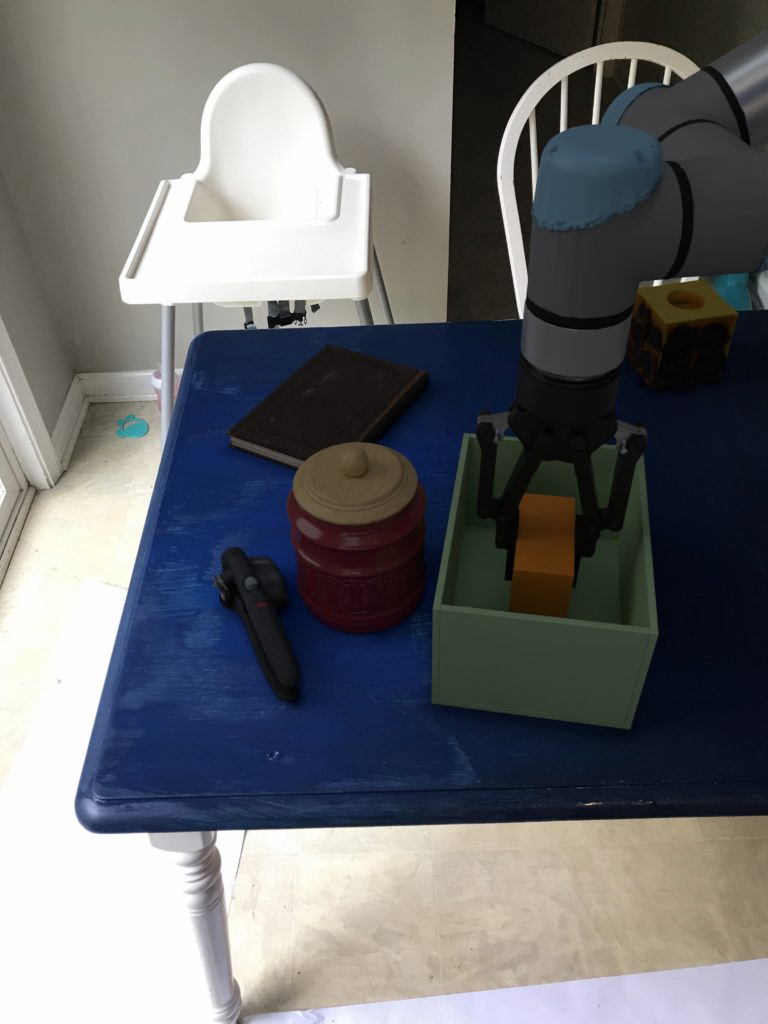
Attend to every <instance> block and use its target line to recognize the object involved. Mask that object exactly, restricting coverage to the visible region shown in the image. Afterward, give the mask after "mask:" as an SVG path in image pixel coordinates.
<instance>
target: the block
mask: <svg viewBox="0 0 768 1024" xmlns="http://www.w3.org/2000/svg"><path fill="white" fill-rule="evenodd" d="M519 509H520V515H519V527H518V537H517V541H516V550H515V559H514V568H513V577H512V586H511V598H510V609H509V612H514V613H523V614H532V615H540V616H549V617H558V618H567V612H568V607H569V601H570V596H571V590H572V585H573V579H574V555H575V546H574V525H575V498H571V497H561V496H550V495H539V494H529V493H525V494H524V496H523V498H522V500H521V502H520V504H519Z"/></svg>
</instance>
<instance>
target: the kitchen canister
mask: <svg viewBox="0 0 768 1024" xmlns="http://www.w3.org/2000/svg"><path fill="white" fill-rule="evenodd" d="M427 505H428V496H427V492H426V488H425V487H424V485H423V483H422V481H421V480H420V479H419V477H418V473H417V471H416V468H415V467H414V465H413V464H412V462H411V461H410V460H409V459H408V458H407V457H406V456H405V455H403V454H402V453H400V452H399V451H397V450H395V449H393V448H391V447H388V446H385V445H381V444H378V443H374V444H372V443H363V442H352V443H344V444H340V445H335V446H332V447H329V448H326V449H323V450H321V451H319V452H317V453H315V454H314V455H312V456H311V457H309V458H308V459H307V460H306V461H305V462H304V463H303V464H302V465H301V466H300V467H299V469H298V470H296V472H295V474H294V477H293V481H292V486H291V488H290V490H289V491H288V495H287V498H286V505H285V506H286V515H287V519H288V520H289V522H290V529H289V531H290V533H289V537H290V541H291V545H292V548H293V550H294V556H295V563H296V583H297V590H298V594H299V595H300V598H301V600H302V601H303V605H304V606H305V608H306V609H307V611H308V612H309V614H310V615H311V616H313V617H314V619H315V620H317V621H319V622H320V623H321V624H323V625H324V626H327V627H328V628H331V629H334V630H337V631H340V632H345V633H352V634H368V633H375V632H379V631H383V630H387V629H388V628H391V627H394V626H396V625H397V624H398V625H399V623H401V622H402V621H403V620H405V619H406V618H408V617H409V616H410V615H412V613H413V612H414V611H415V610H416V608H417V607H418V606H419V604H420V602H421V600H422V597H423V594H424V591H425V588H426V583H427V564H426V561H425V559H426V558H425V557H426V556H425V555H426V551H425V550H426V548H425V547H426V546H425V545H426V535H427V527H428V526H427V520H426V516H425V513H426V510H427V507H428V506H427Z"/></svg>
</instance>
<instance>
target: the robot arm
mask: <svg viewBox="0 0 768 1024" xmlns="http://www.w3.org/2000/svg"><path fill="white" fill-rule="evenodd" d="M767 146H768V28H766V29H763V31H761V32H760V33H758V34H756V35H755V36H753V37H751V38H750V39H748V40H745V42H743V43H741V44H740V45H738V46H736V47H735V48H732V50H730V51H729V52H727V53H725V54H724V55H722V56H721V57H719V58H717V59H715V60H714V61H712V62H711V63H709V64H707V65H706V66H704V67H703V68H700V69H699V70H697V71H696V72H694V73H692V74H691V75H689V76H687V77H686V78H684V79H683V80H681V81H679V82H678V83H675V84H674V85H670V84H665V83H661V82H652V81H651V82H650V81H649V82H644V83H638V84H636V85H635V84H634V85H632V86H631V87H628V88H627V89H625V90H624V91H622V92H620V94H619V95H617V97H615V99H614V100H613V101H612V102H611V104H609V105H608V107H607V109H606V111H605V112H604V115H603V116H602V118H601V121H600V123H594V124H583V125H577V126H573V127H570V128H567V129H564V130H563V131H560V132H558V133H557V134H555V135H554V136H553V137H552V138H550V140H548V142H547V143H546V144H545V146H544V148H543V150H542V153H541V155H540V162H539V167H538V170H537V177H536V183H535V190H534V196H533V200H532V204H531V208H530V209H531V210H530V214H531V229H530V230H531V231H530V245H529V258H528V271H527V272H528V273H527V274H528V275H527V286H526V293H525V300H524V305H523V315H522V317H523V318H522V325H521V326H522V327H521V335H520V337H521V338H520V352H521V353H520V356H519V360H518V369H517V380H516V390H515V398H514V401H512V403H511V404H510V406H509V407H508V411H503V412H498V413H493V412H492V411H491V410H489V409H481V410H480V411H479V412H478V414H477V417H476V418H477V420H476V426H475V430H474V431H475V432H474V434H476V437H477V440H478V443H479V445H480V448H481V463H480V475H479V488H478V500H477V516H478V517H479V518H481V519H487V518H491V519H493V520H494V521H495V522H496V537H495V546H496V548H499V549H507V558H506V568H505V578H504V580H507V581H512V577H513V568H514V559H515V550H516V541H517V537H518V527H519V515H520V509H518V506H519V504H520V502H521V500H522V498H523V496H524V494H525V492H526V490H527V487H528V485H529V483H530V481H531V479H532V477H533V475H534V473H535V472H536V471H537V470H538V467H539V465H540V463H541V461H555V460H558V461H561V462H565V463H571V464H573V465H574V470H575V476H576V478H577V484H578V490H579V496H580V502H581V507H582V513H583V515H576V519H575V525H574V546H575V555H574V579H573V585H572V588H575V587H576V582H577V576H578V571H579V566H580V560H581V557H588V558H591V557H592V556H593V555H594V553H595V548H596V543H597V540H598V539H599V538H600V532H601V531H602V530H605V529H609V530H611V531H613V532H618V531H620V530H621V529H622V528H623V524H624V519H625V514H626V509H627V505H628V500H629V495H630V490H631V486H632V481H633V476H634V471H635V467H636V463H637V462H638V460H639V459H640V458H641V456H642V455H643V453H644V454H645V452H646V451H647V449H648V448H649V443H648V441H649V439H648V430H647V425H646V423H645V422H643V421H641V420H639V421H634V422H632V423H631V424H630V423H627V422H625V421H622V420H619V418H618V414H617V411H616V409H615V408H616V403H617V397H618V391H619V388H620V387H619V386H620V383H621V376H622V372H623V363H622V362H624V359H625V357H624V356H625V352H626V346H627V341H628V335H629V330H630V324H631V319H632V313H633V309H634V305H635V300H636V295H637V291H638V288H640V283H642V282H651V281H664V280H665V281H666V280H670V279H680V278H681V279H683V278H698V277H711V276H725V275H726V276H727V275H739V274H754V275H758V274H763V272H766V271H768V151H767V152H765V151H760V150H762V149H764V148H766V147H767ZM508 429H510V430H511V431H512V433H513V434H514V435H515V437H517V438H518V439H519V441H520V442H521V443H522V444H523V449H522V452H521V454H520V456H519V458H518V461H517V463H516V465H515V467H514V470H513V472H512V474H511V476H510V478H509V481H508V483H507V485H506V487H505V490H504V492H503V494H502V496H500V499H497V498H495V497H493V488H494V477H495V467H496V456H497V446H498V443H499V442H500V441H501V440H502V439H503V438H504V436H505V432H506V431H507V430H508ZM612 438H615V445H616V448H617V450H618V455H617V460H616V465H615V470H614V476H613V481H612V486H611V492H610V497H609V502H608V507H607V508H601V509H599V504H598V497H597V491H596V484H595V478H594V471H593V465H592V458H591V454H592V453H593V452H594V451H596V450H597V449H598V448H599V447H601V446H602V445H603V444H606V443H607V442H608V441H609V440H611V439H612Z"/></svg>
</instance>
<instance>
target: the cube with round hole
mask: <svg viewBox="0 0 768 1024" xmlns="http://www.w3.org/2000/svg"><path fill="white" fill-rule="evenodd" d="M739 315H740V313H739V312H738V311H737V310H736V309H735V307H733V306H732V305H731V304H730V303H728V301H726V300H725V299H724V298H723V297H722V296H720V295H719V293H717V292H716V291H715V290H714V289H713V288H712V287H711V286H710V285H709V284H708V283H707V282H706V281H705V280H704V279H703V280H702V279H694V280H688V281H682V282H672V283H666V284H659V285H653V286H643V287H638V291H637V295H636V300H635V305H634V309H633V313H632V319H631V324H630V330H629V335H628V341H627V346H626V352H625V356H624V359H625V360H626V361H627V362H628V364H629V365H630V367H631V368H632V369H633V370H634V372H635V373H636V374H637V375H638V376H639V377H641V378H643V380H644V382H645V383H646V384H645V385H646V386H647V388H648V389H649V390H650V391H653V392H655V391H662V390H666V389H667V390H669V389H675V388H683V387H687V386H694V385H698V384H705V383H711V382H713V383H714V382H717V381H720V379H721V377H722V373H723V371H724V370H725V368H726V364H727V359H728V356H729V351H730V350H729V349H730V345H731V342H732V339H733V332H734V331H735V329H736V324H737V321H738V319H739Z"/></svg>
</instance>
